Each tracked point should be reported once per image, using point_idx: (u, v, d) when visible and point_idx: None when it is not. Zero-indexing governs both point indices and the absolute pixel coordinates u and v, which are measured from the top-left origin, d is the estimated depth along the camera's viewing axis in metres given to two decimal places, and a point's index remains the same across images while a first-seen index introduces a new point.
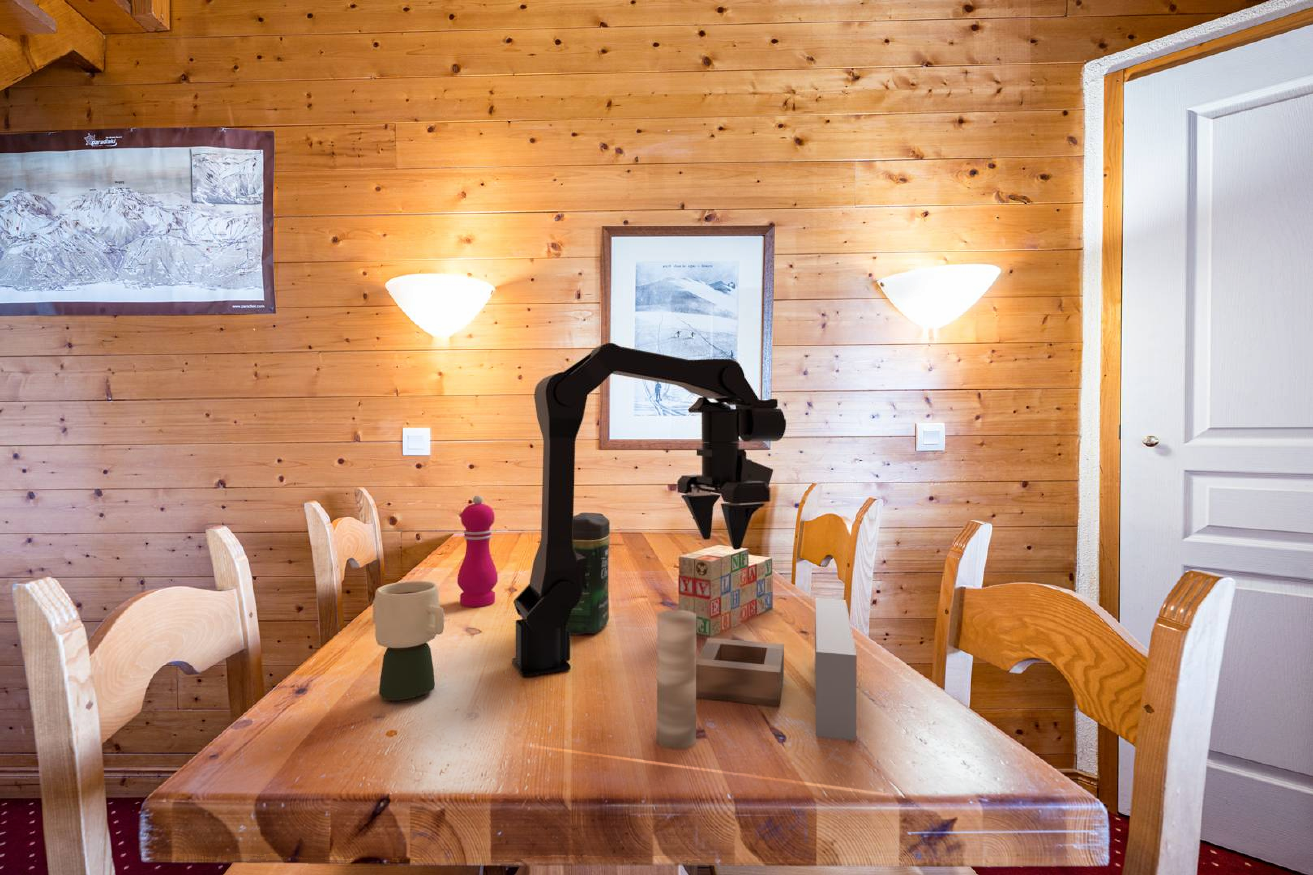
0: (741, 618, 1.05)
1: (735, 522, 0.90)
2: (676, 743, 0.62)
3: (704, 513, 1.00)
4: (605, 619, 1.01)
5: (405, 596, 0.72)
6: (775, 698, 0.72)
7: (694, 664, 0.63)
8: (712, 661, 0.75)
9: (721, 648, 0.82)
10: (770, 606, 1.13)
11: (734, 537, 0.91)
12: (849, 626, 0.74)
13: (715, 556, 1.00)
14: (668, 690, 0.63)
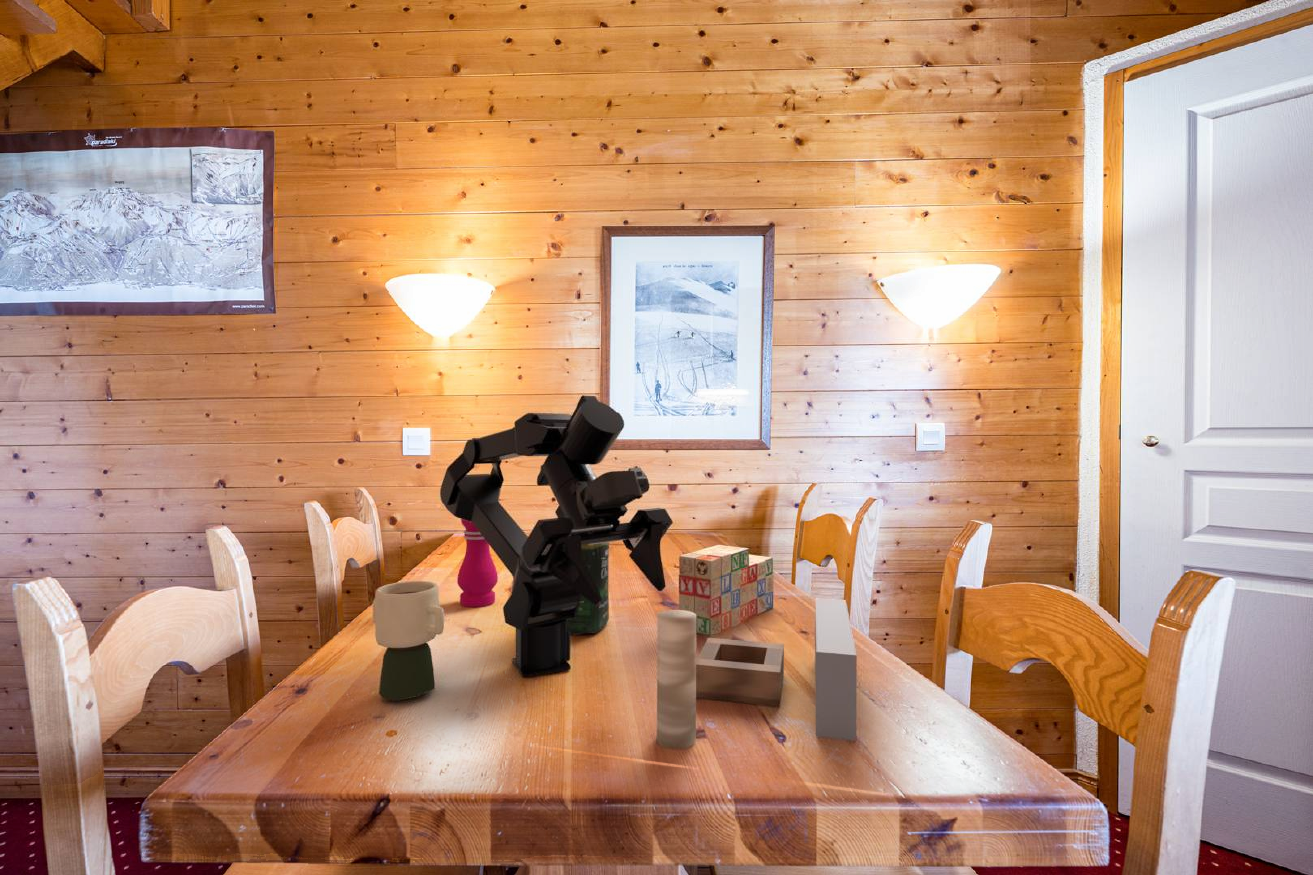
0: (741, 618, 1.05)
1: (569, 577, 0.69)
2: (676, 743, 0.62)
3: (646, 561, 0.76)
4: (605, 619, 1.01)
5: (405, 596, 0.72)
6: (775, 698, 0.72)
7: (694, 664, 0.63)
8: (712, 661, 0.75)
9: (721, 648, 0.82)
10: (771, 606, 1.13)
11: (582, 593, 0.68)
12: (849, 626, 0.74)
13: (715, 556, 1.00)
14: (668, 690, 0.63)
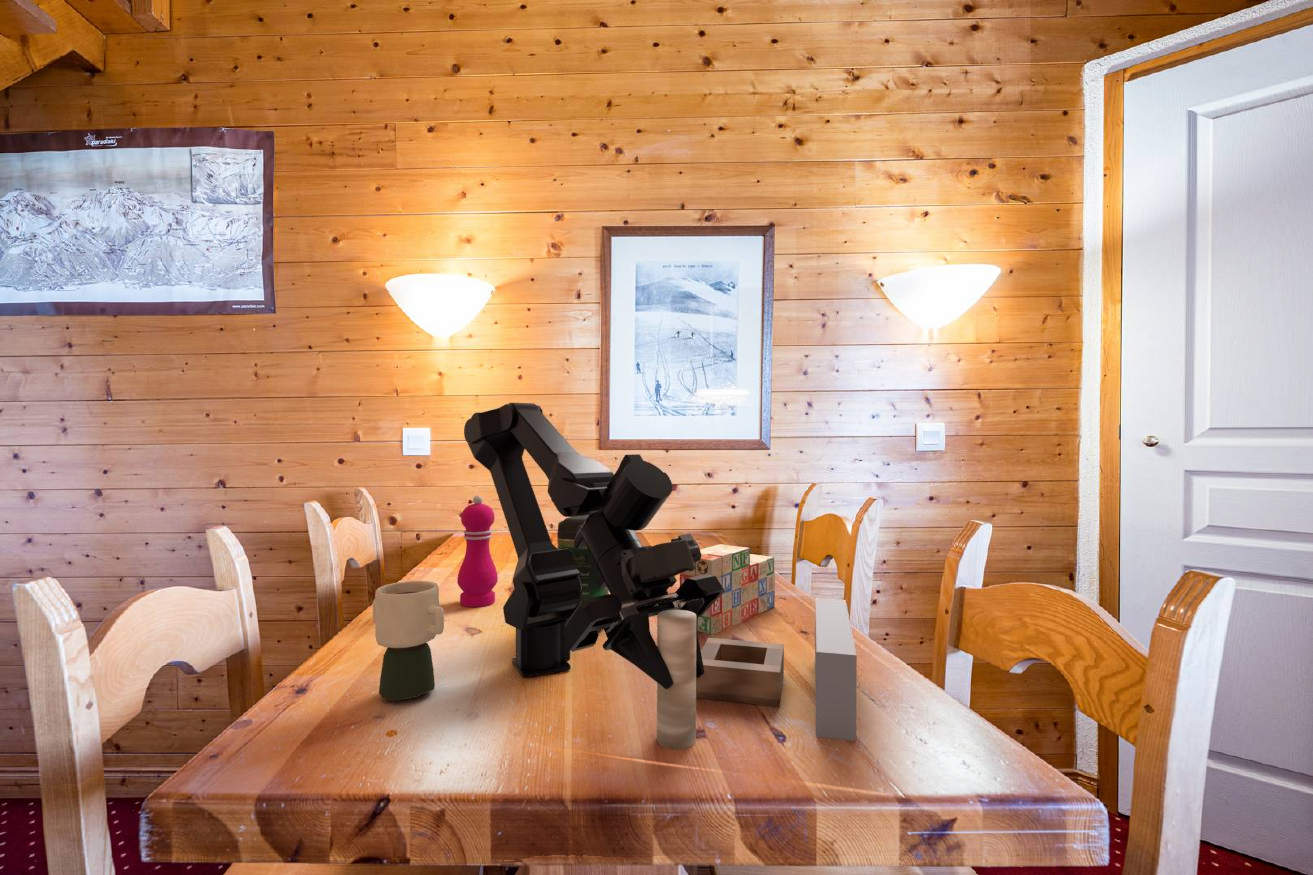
0: (742, 617, 1.06)
1: (636, 657, 0.64)
2: (676, 743, 0.62)
3: None
4: None
5: (405, 596, 0.72)
6: (775, 698, 0.72)
7: (694, 664, 0.63)
8: (712, 661, 0.75)
9: (721, 648, 0.82)
10: (772, 605, 1.14)
11: (651, 675, 0.63)
12: (849, 626, 0.74)
13: (716, 555, 1.01)
14: (668, 690, 0.63)
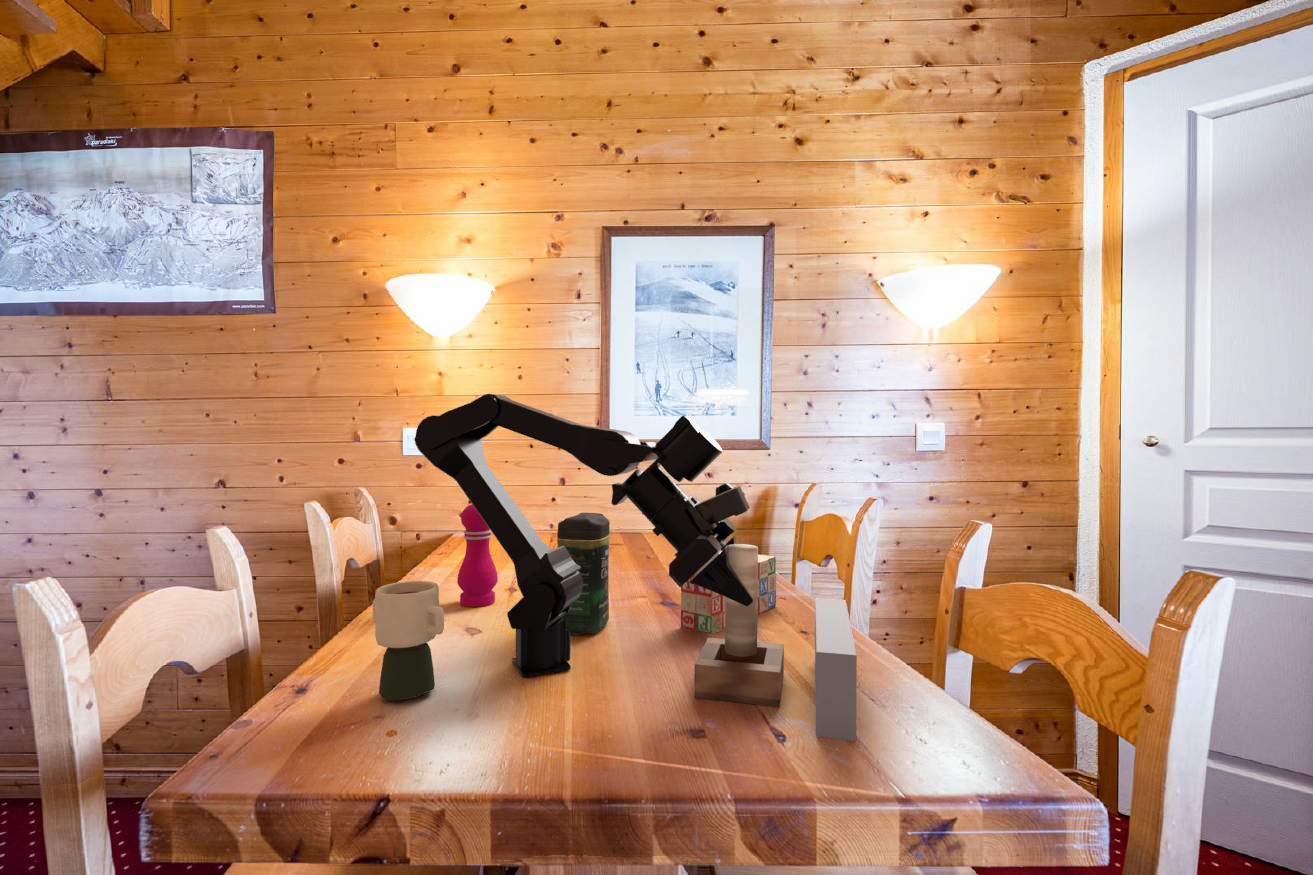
0: None
1: (719, 585, 0.75)
2: (751, 649, 0.76)
3: None
4: (605, 619, 1.01)
5: (405, 596, 0.72)
6: (775, 698, 0.72)
7: None
8: (712, 661, 0.75)
9: (721, 648, 0.82)
10: (773, 604, 1.14)
11: (733, 597, 0.75)
12: (849, 626, 0.74)
13: None
14: (746, 607, 0.76)
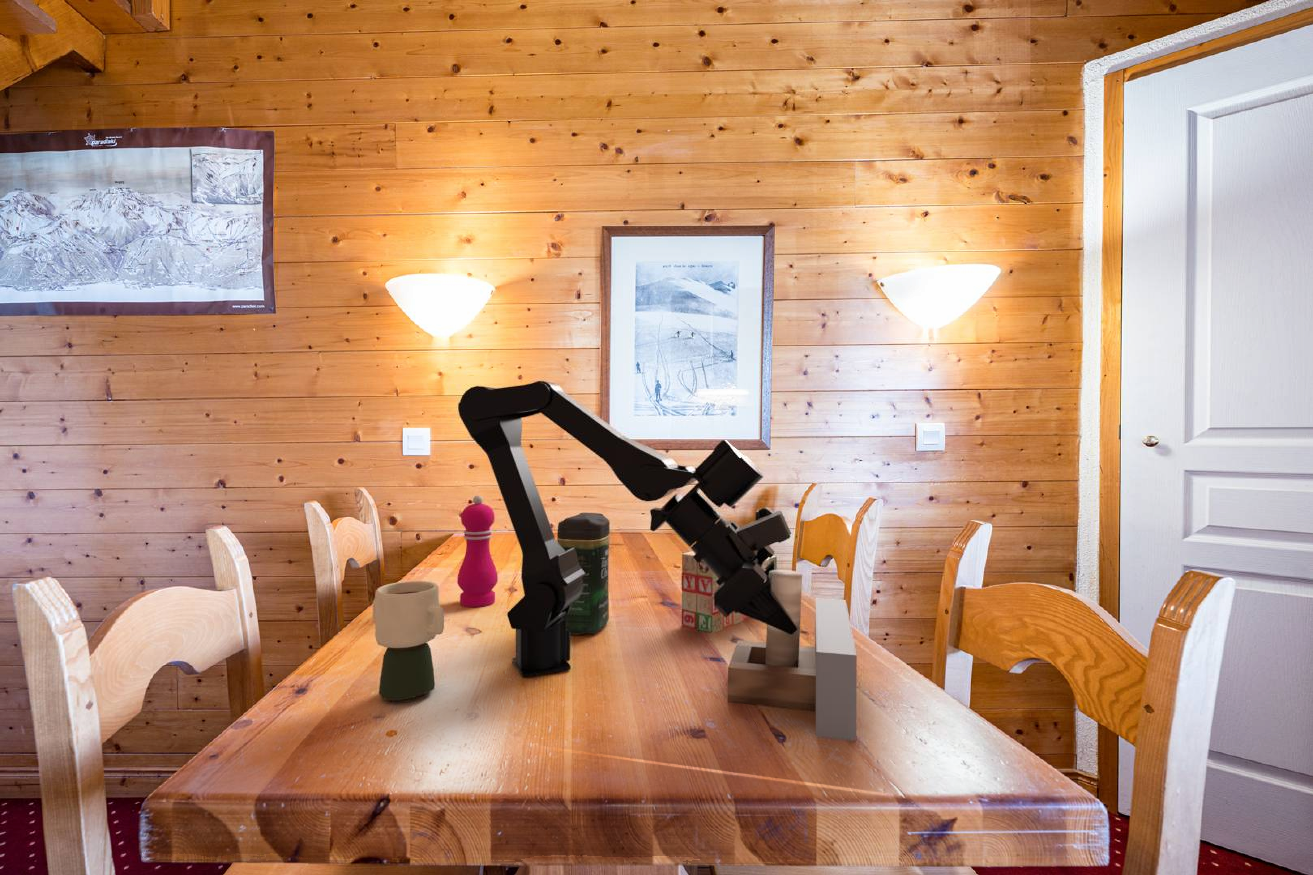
0: (744, 615, 1.07)
1: (762, 613, 0.74)
2: None
3: None
4: (605, 619, 1.01)
5: (405, 596, 0.72)
6: (811, 702, 0.71)
7: None
8: (745, 664, 0.74)
9: (752, 651, 0.81)
10: None
11: (777, 626, 0.74)
12: (849, 626, 0.74)
13: None
14: (789, 635, 0.75)
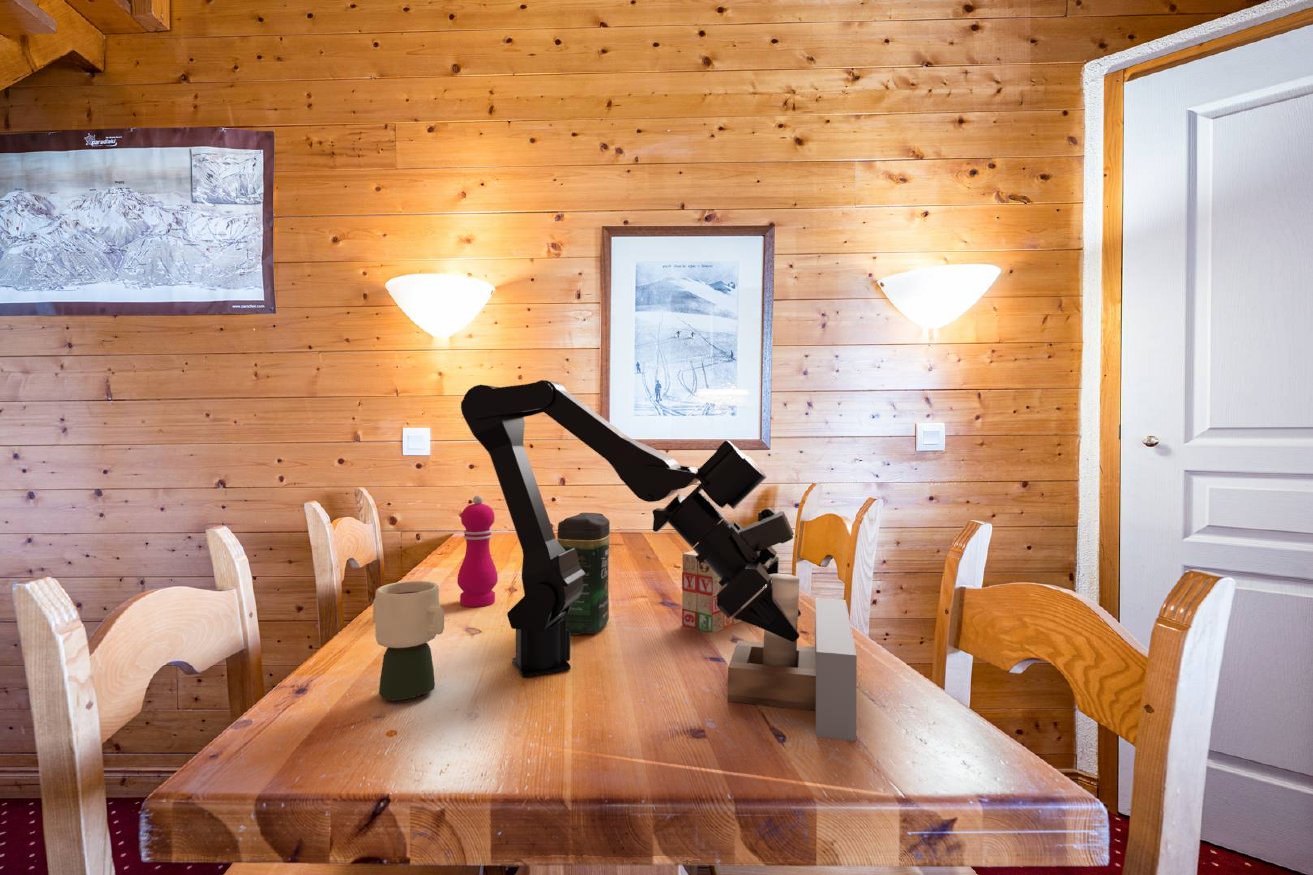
0: None
1: (763, 620, 0.72)
2: None
3: None
4: (605, 619, 1.01)
5: (405, 596, 0.72)
6: (811, 702, 0.71)
7: None
8: (745, 664, 0.74)
9: (752, 651, 0.81)
10: None
11: (779, 633, 0.72)
12: (849, 626, 0.74)
13: None
14: (786, 640, 0.75)
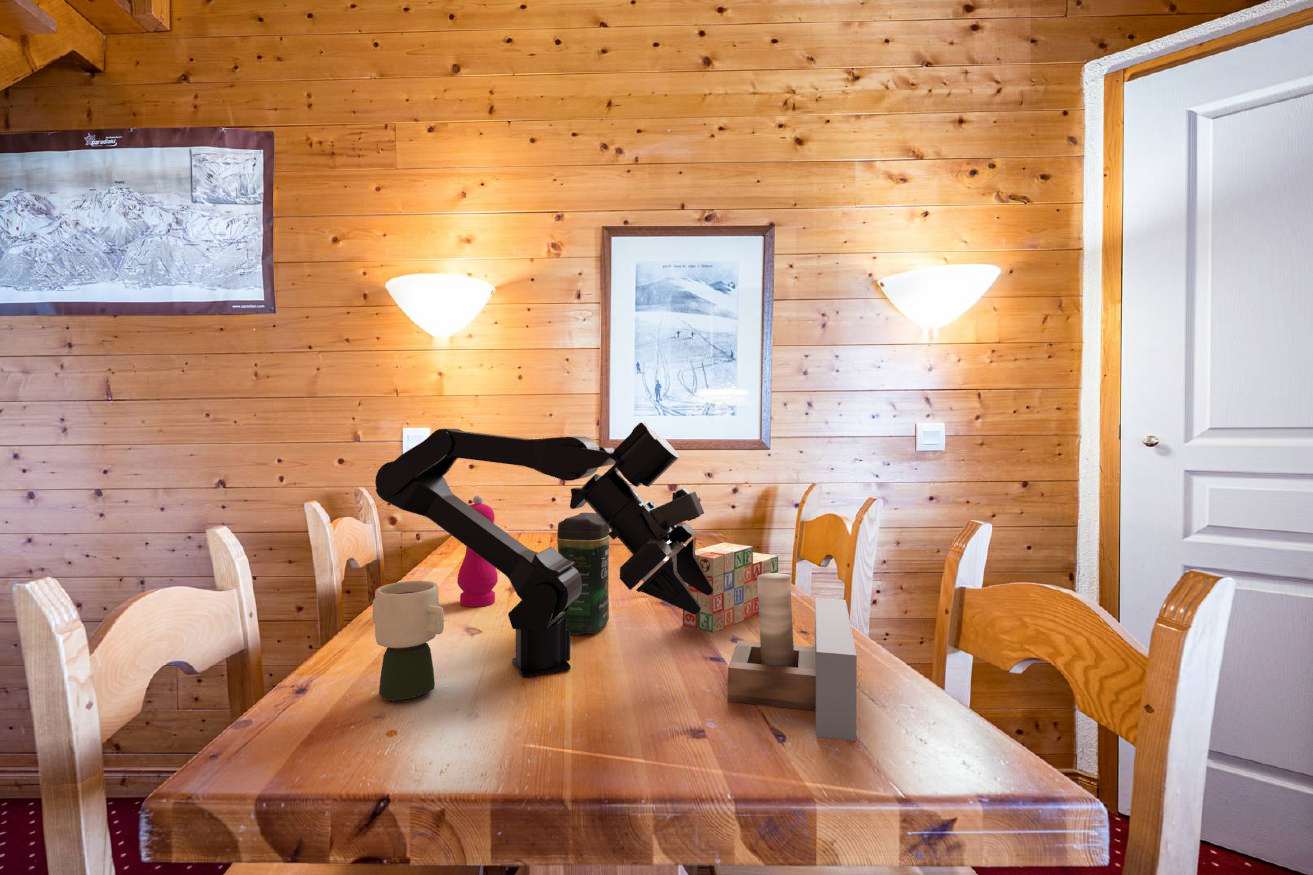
0: (745, 614, 1.07)
1: (666, 593, 0.75)
2: None
3: (689, 570, 0.85)
4: (605, 619, 1.01)
5: (405, 596, 0.72)
6: (811, 702, 0.71)
7: None
8: (745, 664, 0.74)
9: (752, 651, 0.81)
10: None
11: (681, 606, 0.75)
12: (849, 626, 0.74)
13: (718, 553, 1.03)
14: (781, 638, 0.75)
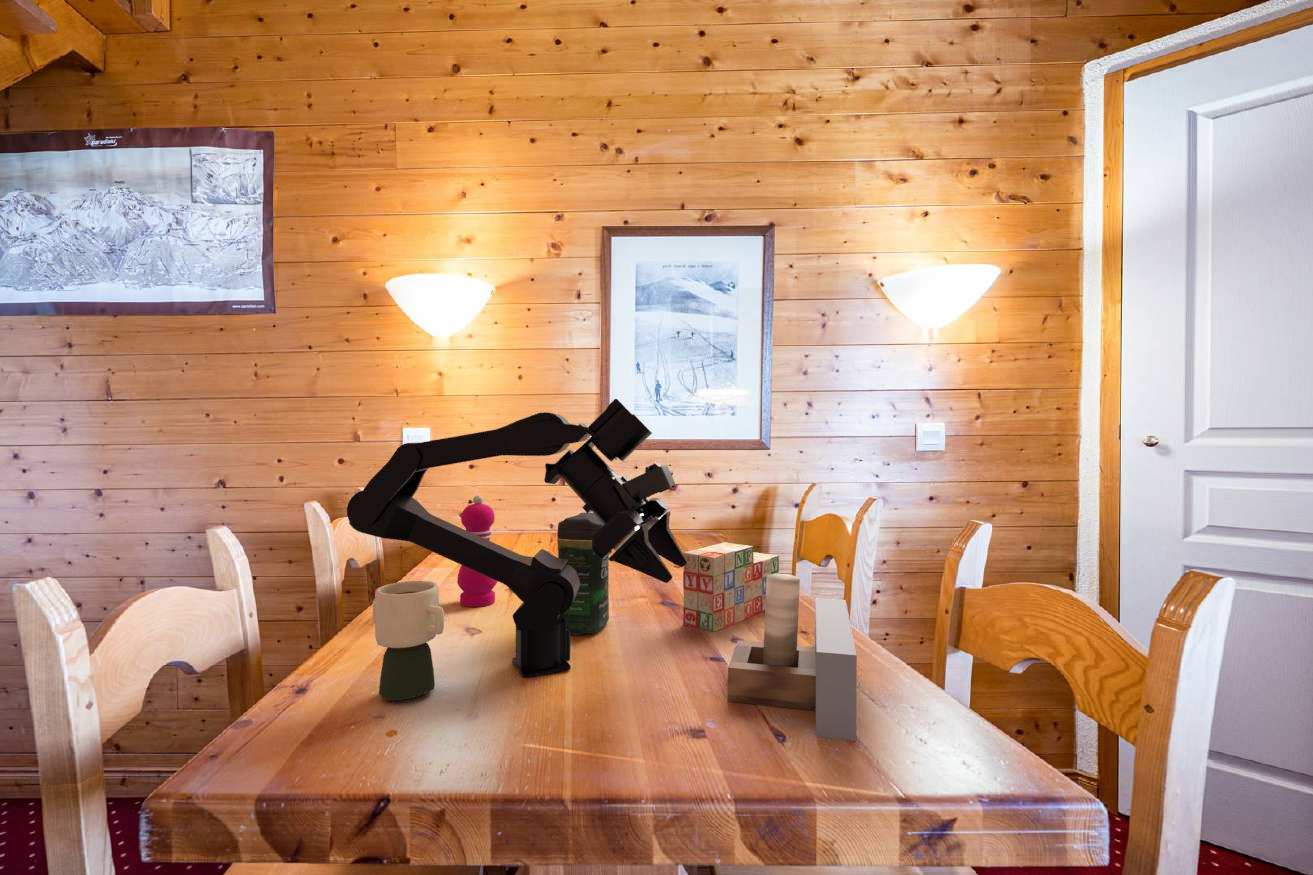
0: (746, 614, 1.07)
1: (638, 562, 0.77)
2: None
3: (662, 543, 0.87)
4: (605, 619, 1.01)
5: (405, 596, 0.72)
6: (811, 702, 0.71)
7: None
8: (745, 664, 0.74)
9: (752, 651, 0.81)
10: None
11: (653, 574, 0.77)
12: (849, 626, 0.74)
13: (719, 553, 1.03)
14: (785, 640, 0.75)
